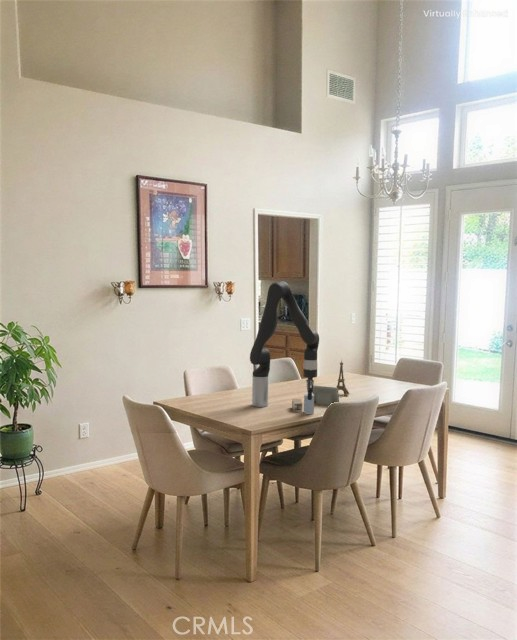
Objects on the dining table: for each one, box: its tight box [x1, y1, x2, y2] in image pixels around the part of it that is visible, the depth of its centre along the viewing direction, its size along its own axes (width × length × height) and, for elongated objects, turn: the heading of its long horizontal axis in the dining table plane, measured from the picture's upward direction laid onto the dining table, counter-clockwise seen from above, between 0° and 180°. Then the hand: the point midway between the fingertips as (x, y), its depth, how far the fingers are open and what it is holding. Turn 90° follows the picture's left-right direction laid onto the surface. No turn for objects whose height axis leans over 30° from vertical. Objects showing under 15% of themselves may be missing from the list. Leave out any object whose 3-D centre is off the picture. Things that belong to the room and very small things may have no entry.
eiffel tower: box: [336, 359, 351, 398], centre depth 357 cm, size 11×11×25 cm
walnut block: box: [291, 398, 303, 412], centre depth 313 cm, size 5×5×10 cm
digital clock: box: [312, 385, 340, 406], centre depth 329 cm, size 16×9×11 cm, turn 55°
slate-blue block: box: [303, 393, 315, 415], centre depth 305 cm, size 5×5×10 cm
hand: (309, 399), depth 300 cm, fingers closed
